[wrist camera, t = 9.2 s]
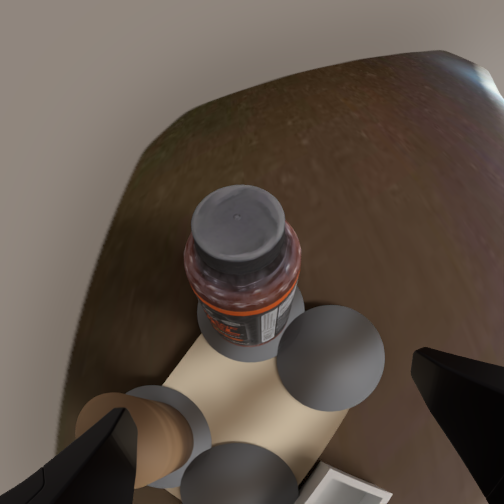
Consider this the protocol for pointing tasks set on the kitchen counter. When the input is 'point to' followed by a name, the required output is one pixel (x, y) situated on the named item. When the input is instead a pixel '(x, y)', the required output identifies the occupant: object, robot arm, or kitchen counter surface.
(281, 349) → the board
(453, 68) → the kitchen counter surface
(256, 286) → the supplement bottle
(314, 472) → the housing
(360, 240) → the kitchen counter surface
